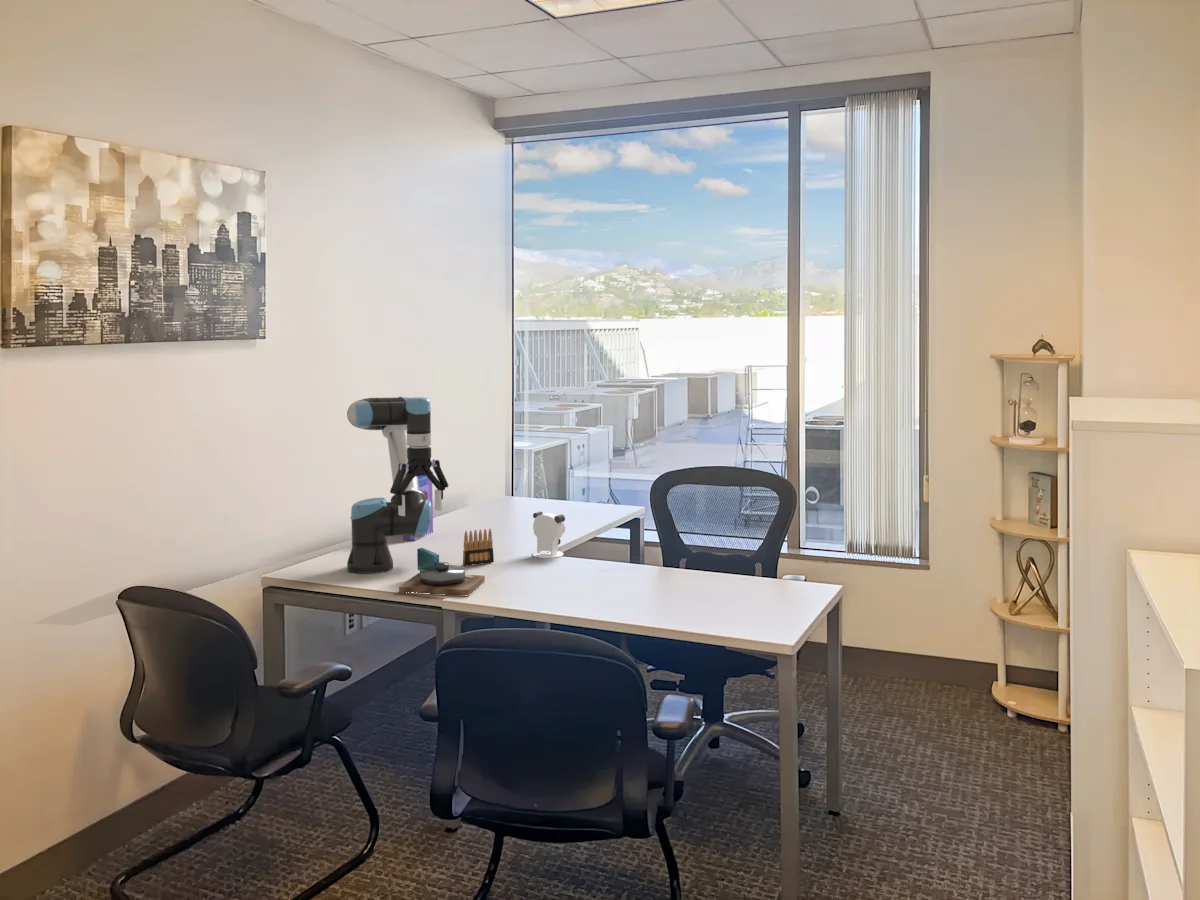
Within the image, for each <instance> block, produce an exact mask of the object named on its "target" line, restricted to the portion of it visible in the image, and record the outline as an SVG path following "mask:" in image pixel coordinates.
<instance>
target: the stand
mask: <svg viewBox="0 0 1200 900" xmlns="http://www.w3.org/2000/svg"><path fill="white" fill-rule="evenodd" d="M485 577H486V575H478V574H477V575H475V574H465V580H464V581H462V582H459V583H455V584H449V585H431V584H425V583H422V582H421V581H420V572H417V574H415V575H414V576H411V578H409V579H408V580H407V581H405V582H404V583H403V584H401V585H400V586H399V587H398V593H399V594H404V593H406V592H407V593H408V592H409V593H411V592H414V593H416V592H417V593H430V594H445V595H444V596H447V595H469V594H471V593H472V592H473V591H474V590H475V589H476V588H477V589H478V588H479V586H480V585H481V584H482V583H483V582H484V581H485V582H486V578H485ZM485 582H484V583H485ZM484 583H483V584H484ZM483 584H482V585H483ZM482 585H481V586H482ZM481 586H480V587H481ZM477 589H476V590H477ZM476 590H475V591H476ZM475 591H474V592H475ZM474 592H473V593H474ZM473 593H472V594H473ZM472 594H471V595H472Z"/></svg>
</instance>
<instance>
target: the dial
mask: <svg viewBox="0 0 1200 900" xmlns="http://www.w3.org/2000/svg"><path fill="white" fill-rule="evenodd" d="M416 553H417V555H416V556H417V570H418V571H419V573H420V581H421V582H422V583H425V584H431V585H449V584H455V583H459V582H462V581H464V580H465V575H466V568H465V567H463V566H461V565H454V564H450V563H449V562H447V561H445V562H444V561H443V562H441V561H440V554H438V553H435V552H434V551H431V550H429V549H427V548H424V547H419V548H417V552H416Z"/></svg>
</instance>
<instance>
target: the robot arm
mask: <svg viewBox="0 0 1200 900" xmlns="http://www.w3.org/2000/svg"><path fill="white" fill-rule="evenodd" d="M431 410H432V408H431V400H430V398H429V397H421V396H419V397H417V396H415V397H407V396H406V397H405V396H398V397H368V398H361V399H358V400H357V401H354V402H352V403H351V404H350V405H349V406H348V409H347V411H346V417H347V420H348V421H349V423H350V424H351V425H352V426H353V427H355V428H357V429H362V430H367V431H381V433H382V436H383V437H384V438H386V439H387V445H388V447H387V448H388V454H389V461H390V470H391V478H392V486H391V488H390V491H389V493H391V494H393V495H392V496H391V497H390V501H388V500H387V499H386V498H385V497H372V498H367V499H366V498H365V499H362V500H360V501H359V500H358V501H356V502H355V503H353V504H352V506H351V510H350V511H351V514H350V520H351V549H350V552H349V555H348V559H347V562H346V565H347V566H346V567H347V571H348V572H351V573H355V574H375V573H376V572H377V573H383V572H386V571H390V570H392V569H393V568H394V559H393V557H392V554H391V551H390V549H389V546H388V537H403V536H405V535H418V534H425V533H427V532H428V530H429V527H430V521H431V502H430V500H425V496H424V494H423V493H422V492H420V491H419V484H418V477H417V476H421V475H422V476H425V475H426V476H427V477H428V478H429V479H430V481H431V482H432V485H433V486H434V487H435V488H436V489H434V510H436V511H440V512H441V511H442V508H443V507H442V500H443V499H444V491H445V490H446V488H449V483H448V481H447V478H446V477H445V475H444V474H445V473H444V472H443V470H442V467H441V463H440V462H441V461H440V460H439V459H435V458H434V459H432V447H431V445H432V438H431V437H432V434H431V432H432V429H431V425H432V423H431V420H432V419H431V415H432V413H431ZM431 459H432V460H431ZM431 467H432V469H433V471H434V472H435V474H434V472H433V471H432V470H431ZM435 475H436V476H435ZM382 571H383V572H382Z"/></svg>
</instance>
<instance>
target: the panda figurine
mask: <svg viewBox="0 0 1200 900" xmlns="http://www.w3.org/2000/svg"><path fill="white" fill-rule="evenodd" d="M532 517H533V519H534V520H533V523H532V525H533V526H532V530H533V534H534V535H535V536H536V543H537V544H536V552H537V553H540V552H542V551H550V552H549V553H545V554H540V555H536V557H539V558H538V559H557V558H561V557H563V556H564V552H562V551H558V549H559V545H560V544H561V538H562V537H563V535H564V533H565V529H566V527H565V524H564V522H565V521H566V516H565V515H564V514H554V513H550V512H549V513H543V511H537V512H535V513H533V514H532ZM536 557H535V558H536Z"/></svg>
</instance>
